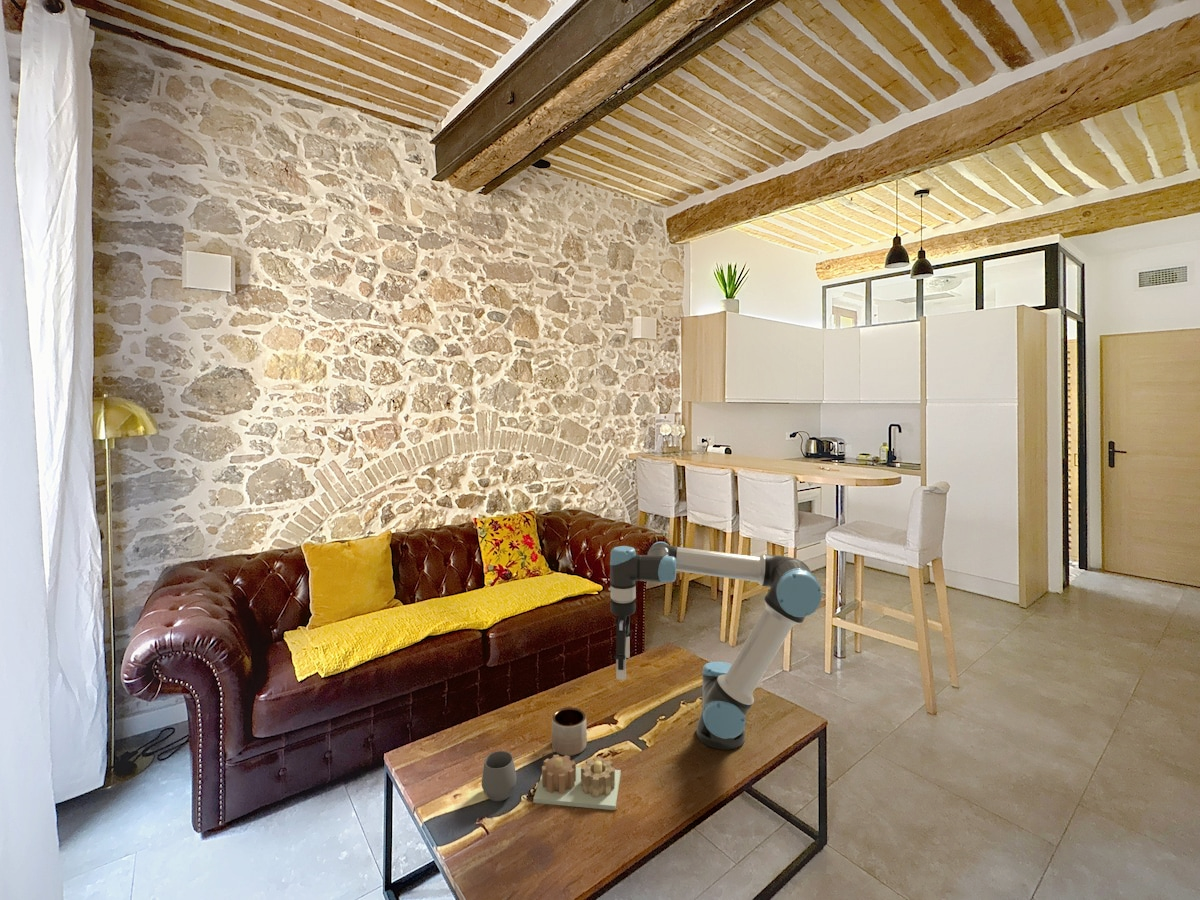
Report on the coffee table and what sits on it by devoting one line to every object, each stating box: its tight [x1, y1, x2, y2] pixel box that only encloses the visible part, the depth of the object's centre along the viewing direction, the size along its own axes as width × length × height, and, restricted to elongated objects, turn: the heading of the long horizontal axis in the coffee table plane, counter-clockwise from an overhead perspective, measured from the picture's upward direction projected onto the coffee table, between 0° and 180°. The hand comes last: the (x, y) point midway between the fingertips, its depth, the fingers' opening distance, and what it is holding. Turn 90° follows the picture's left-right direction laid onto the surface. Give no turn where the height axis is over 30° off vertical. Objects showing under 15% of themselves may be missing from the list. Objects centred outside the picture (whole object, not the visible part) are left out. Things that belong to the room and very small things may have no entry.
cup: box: [481, 750, 517, 802], centre depth 148 cm, size 10×9×10 cm
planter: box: [551, 706, 588, 757], centre depth 169 cm, size 11×11×10 cm
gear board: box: [532, 753, 622, 811], centre depth 150 cm, size 22×14×8 cm, turn 82°
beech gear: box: [580, 756, 616, 798], centre depth 149 cm, size 9×9×5 cm
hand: (623, 667), depth 163 cm, fingers open, 13 cm apart
